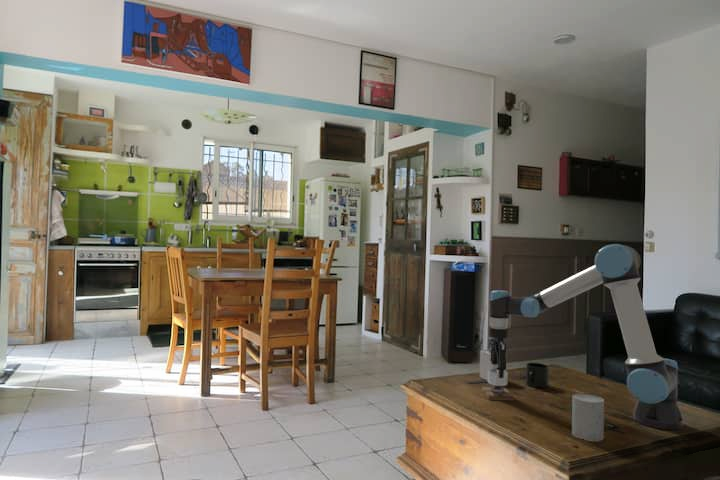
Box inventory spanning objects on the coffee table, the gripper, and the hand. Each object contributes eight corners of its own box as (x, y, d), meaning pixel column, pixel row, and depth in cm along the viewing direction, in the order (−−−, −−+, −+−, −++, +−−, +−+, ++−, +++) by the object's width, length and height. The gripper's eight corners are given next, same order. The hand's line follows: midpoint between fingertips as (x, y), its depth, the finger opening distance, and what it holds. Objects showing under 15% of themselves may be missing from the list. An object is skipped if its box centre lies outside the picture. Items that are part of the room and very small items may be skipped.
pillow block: (514, 400, 188) (514, 375, 188) (489, 399, 188) (489, 374, 189) (505, 391, 200) (505, 368, 200) (481, 390, 200) (482, 367, 201)
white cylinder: (594, 430, 158) (594, 393, 158) (610, 441, 148) (610, 402, 149) (566, 429, 158) (566, 393, 158) (580, 441, 148) (581, 402, 148)
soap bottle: (494, 376, 226) (495, 336, 226) (506, 380, 218) (506, 339, 218) (479, 377, 223) (480, 337, 223) (490, 382, 214) (491, 340, 215)
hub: (508, 386, 191) (509, 373, 191) (490, 385, 191) (491, 373, 191) (503, 381, 198) (504, 369, 198) (486, 380, 198) (486, 368, 198)
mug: (519, 385, 210) (519, 365, 210) (531, 381, 218) (532, 361, 219) (539, 390, 203) (540, 369, 204) (551, 385, 212) (552, 365, 212)
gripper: (515, 332, 185) (514, 390, 184) (500, 324, 205) (499, 376, 205) (496, 331, 185) (495, 389, 184) (483, 323, 205) (482, 375, 205)
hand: (497, 382), depth 194 cm, fingers closed on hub, 7 cm apart
